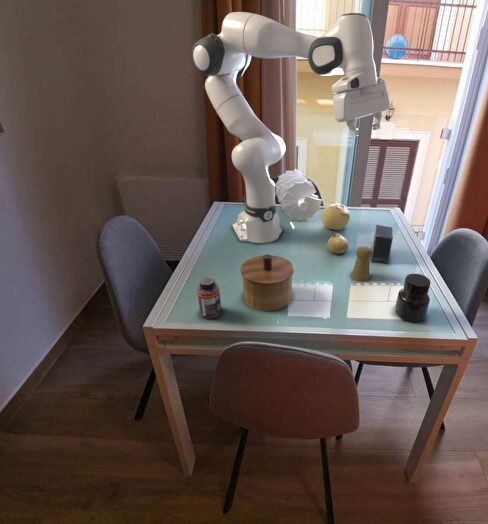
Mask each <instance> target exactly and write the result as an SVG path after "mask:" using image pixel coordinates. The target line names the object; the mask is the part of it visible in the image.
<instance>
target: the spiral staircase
mask: <svg viewBox="0 0 488 524" xmlns="http://www.w3.org/2000/svg"><path fill="white" fill-rule="evenodd" d="M277 178H278V180H277V181H276V183H274V184H275V197H277V201H278V202H279V204H280V206H281V209H282V210H283V211H284V215H288V217H290V218H291V220H293V221H295V220H298V221H305V220H307V219H311V218H314V216H315V215H316V214H317V213H318V212H319V211H320V210H321V209H320V207H321V205H322V203H323V199H320V198H319V195H317V194H316V193H317V190H316V187H315V184H313V182H312V180H308V178H307V176H306V174H305V172H304V171H302V172H300V171H299V170H298V169H297V168H295V169H294V170H285V173H283V174H280V175H278V177H277Z"/></svg>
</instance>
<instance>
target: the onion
mask: <svg viewBox="0 0 488 524" xmlns="http://www.w3.org/2000/svg"><path fill="white" fill-rule="evenodd" d="M326 245H327V249H328V250H329V252H330V253H333V254H336V255H342V254H344V253H345V252H347V251H348V249H349V242H348V240H347V239H346V238H345V237H344V236H343V235H341V234H340V233H333V234H332V236H331V237H330V238H329V239H328V240H327V244H326Z"/></svg>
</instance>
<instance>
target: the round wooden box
mask: <svg viewBox="0 0 488 524" xmlns="http://www.w3.org/2000/svg"><path fill="white" fill-rule="evenodd" d="M292 289H293V276H292V277H291V278H289V279H288V280H286V281H284V282H282V283H278V284H273V285H261V284H255V283H252V282H250V281H248V280H246V279H245V278H244V277H243V276H242V290H243V291H242V292H243V293H242V294H243V300H244V302H245V304H246V305H247V306H249V307H250V308H252V309H255V310H259V311H265V312H267V311H268V312H269V311H277V310H279V309H282V308H284V307H286V306H287V305H288V304H289V303H290V302H291V300H292V291H293V290H292Z"/></svg>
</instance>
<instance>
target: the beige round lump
mask: <svg viewBox="0 0 488 524" xmlns="http://www.w3.org/2000/svg"><path fill="white" fill-rule="evenodd" d="M350 217H351V214H350V211H349V210H348V208H347V207H346V206H345V205H344V204H341V203H339V202H333V203H331V204H329V205H327V206H326V207H325V208H324V209H323V211H322V214H321V222H322V224H323V227H324V228H326V229H328V230H332V231H333V230H334V231H340V230H344V228H345V227H347V225H348V223H349V221H350Z"/></svg>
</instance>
